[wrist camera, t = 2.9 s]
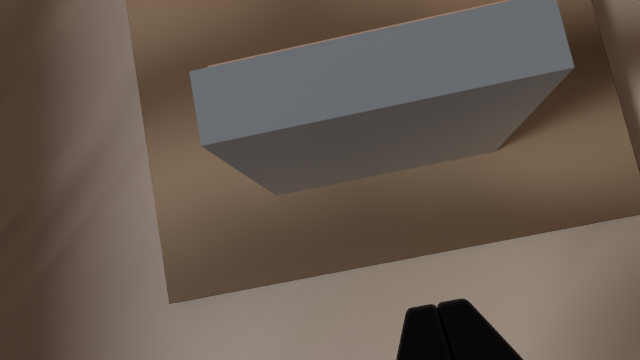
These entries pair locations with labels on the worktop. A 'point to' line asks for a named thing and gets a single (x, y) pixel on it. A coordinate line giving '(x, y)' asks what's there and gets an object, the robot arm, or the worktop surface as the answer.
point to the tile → (382, 96)
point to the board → (372, 192)
